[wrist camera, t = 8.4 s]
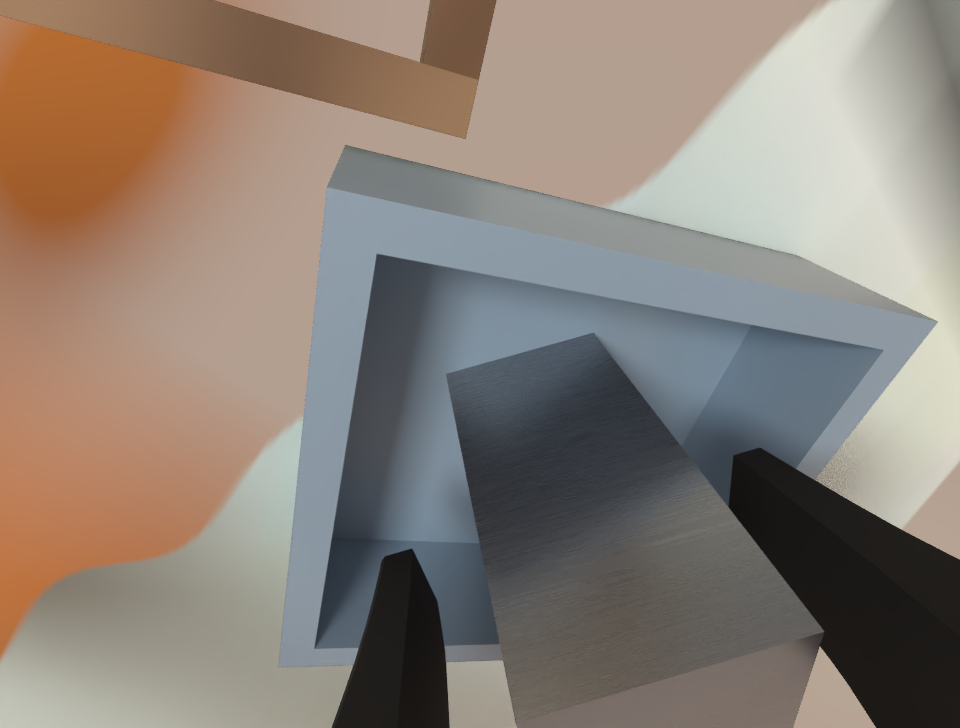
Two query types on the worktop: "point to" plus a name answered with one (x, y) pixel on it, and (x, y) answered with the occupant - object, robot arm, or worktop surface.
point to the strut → (618, 557)
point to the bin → (526, 326)
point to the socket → (294, 52)
